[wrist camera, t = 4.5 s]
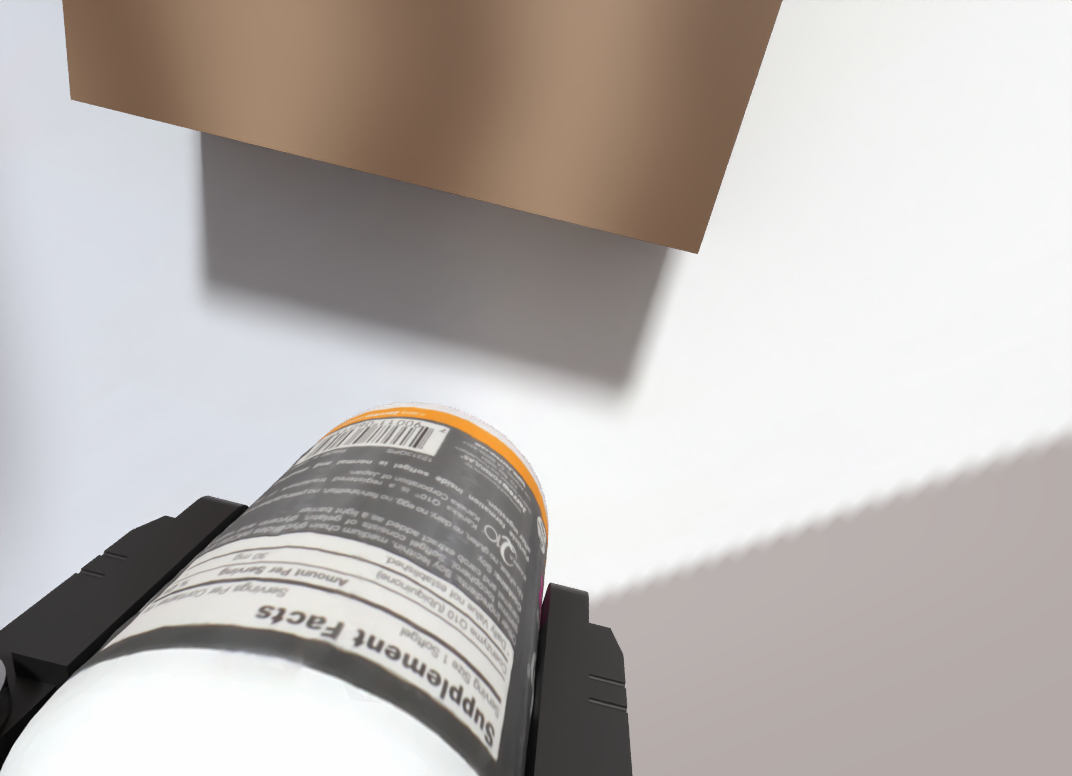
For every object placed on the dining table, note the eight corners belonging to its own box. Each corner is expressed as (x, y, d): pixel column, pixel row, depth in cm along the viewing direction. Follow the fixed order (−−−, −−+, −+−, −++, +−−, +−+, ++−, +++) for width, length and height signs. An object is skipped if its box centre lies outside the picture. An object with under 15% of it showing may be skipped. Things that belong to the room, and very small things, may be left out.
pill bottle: (478, 632, 14) (261, 1536, 5) (278, 527, 13) (-445, 1339, 4) (599, 474, 12) (644, 1524, 3) (371, 341, 11) (-676, 1113, 2)
